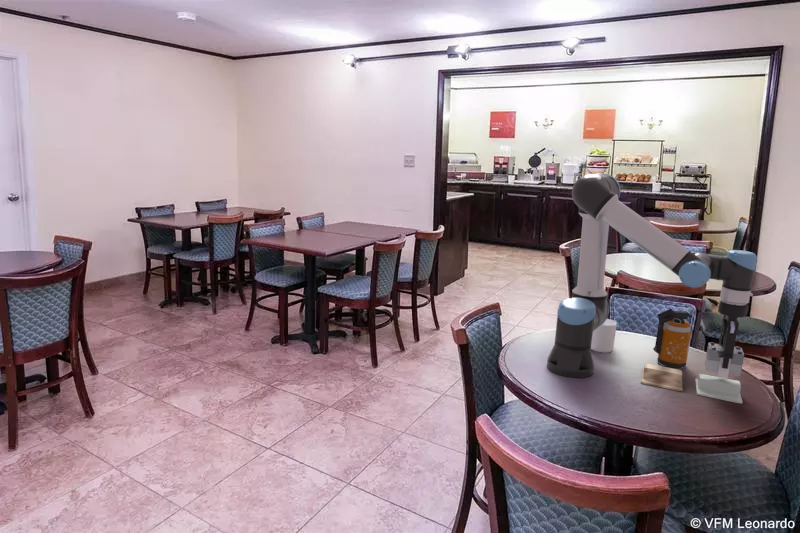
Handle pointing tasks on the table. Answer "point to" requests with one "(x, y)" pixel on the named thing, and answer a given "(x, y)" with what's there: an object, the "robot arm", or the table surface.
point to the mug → (604, 337)
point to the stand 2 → (718, 388)
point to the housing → (714, 359)
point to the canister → (673, 338)
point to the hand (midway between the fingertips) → (721, 372)
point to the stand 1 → (662, 377)
